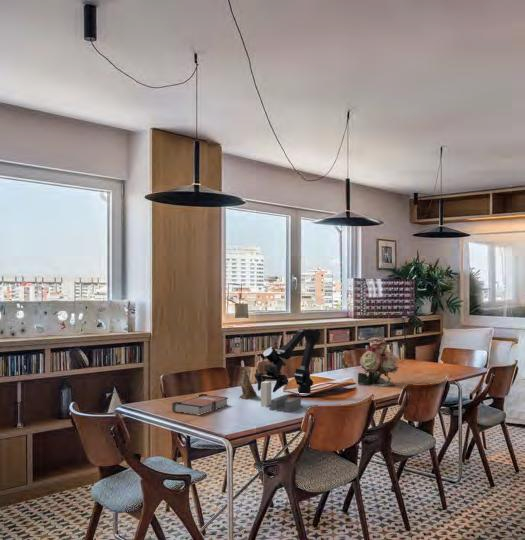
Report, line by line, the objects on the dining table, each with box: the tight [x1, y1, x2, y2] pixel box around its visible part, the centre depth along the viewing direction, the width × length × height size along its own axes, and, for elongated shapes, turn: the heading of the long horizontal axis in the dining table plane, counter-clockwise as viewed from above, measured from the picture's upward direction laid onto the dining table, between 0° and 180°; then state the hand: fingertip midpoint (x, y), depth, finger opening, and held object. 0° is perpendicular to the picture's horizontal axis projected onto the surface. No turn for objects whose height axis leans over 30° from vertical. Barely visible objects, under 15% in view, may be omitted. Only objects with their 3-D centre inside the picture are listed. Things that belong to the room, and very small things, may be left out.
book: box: [171, 393, 229, 414], centre depth 295 cm, size 26×18×5 cm
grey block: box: [260, 380, 272, 407], centre depth 301 cm, size 5×4×12 cm
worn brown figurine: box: [239, 369, 258, 400], centre depth 322 cm, size 12×6×18 cm, turn 142°
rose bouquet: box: [357, 336, 400, 388], centre depth 363 cm, size 26×29×30 cm
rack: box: [268, 395, 303, 413], centre depth 294 cm, size 14×12×5 cm
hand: (265, 391), depth 301 cm, fingers open, 9 cm apart
